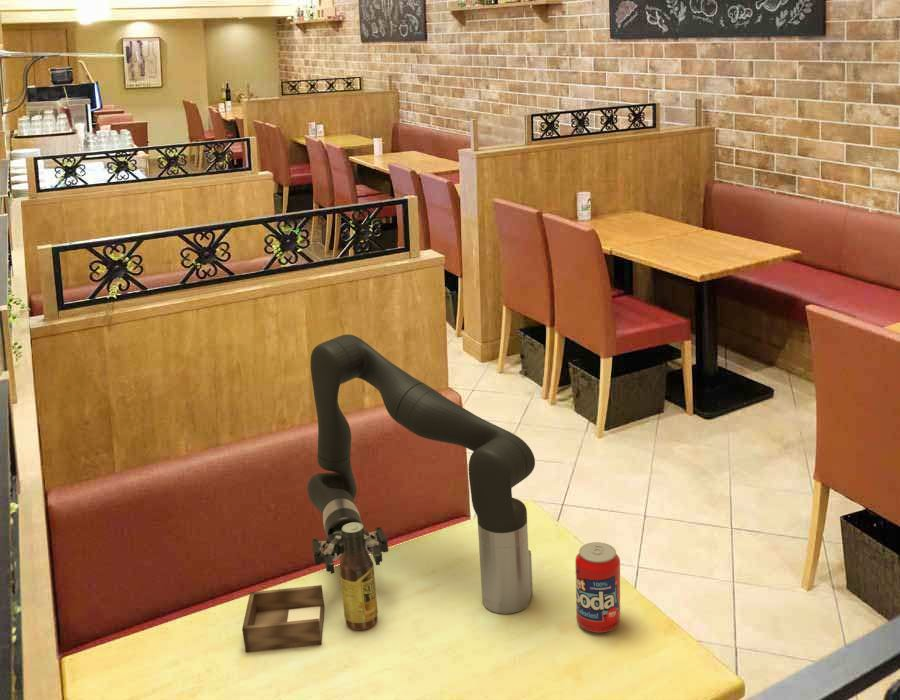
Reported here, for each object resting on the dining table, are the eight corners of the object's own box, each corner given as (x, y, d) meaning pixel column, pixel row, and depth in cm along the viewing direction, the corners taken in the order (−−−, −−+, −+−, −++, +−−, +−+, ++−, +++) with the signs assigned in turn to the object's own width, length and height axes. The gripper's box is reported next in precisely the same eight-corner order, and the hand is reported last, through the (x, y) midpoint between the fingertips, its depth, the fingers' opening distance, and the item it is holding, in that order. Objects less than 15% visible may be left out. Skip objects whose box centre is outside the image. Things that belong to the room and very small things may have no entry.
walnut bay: (324, 607, 178) (321, 585, 176) (321, 644, 167) (318, 621, 165) (253, 614, 177) (250, 592, 175) (245, 652, 166) (242, 628, 165)
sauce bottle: (373, 633, 169) (363, 538, 163) (341, 631, 170) (329, 536, 164) (382, 612, 175) (373, 519, 169) (351, 610, 176) (341, 518, 170)
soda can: (623, 613, 170) (623, 542, 165) (616, 639, 163) (616, 565, 158) (581, 607, 173) (580, 537, 168) (572, 632, 166) (571, 560, 161)
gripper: (305, 513, 183) (314, 554, 168) (375, 501, 186) (391, 540, 171) (309, 546, 186) (319, 590, 171) (379, 534, 189) (394, 575, 174)
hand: (355, 565), depth 171 cm, fingers open, 8 cm apart
